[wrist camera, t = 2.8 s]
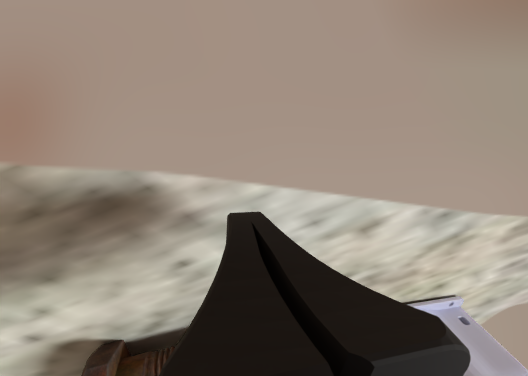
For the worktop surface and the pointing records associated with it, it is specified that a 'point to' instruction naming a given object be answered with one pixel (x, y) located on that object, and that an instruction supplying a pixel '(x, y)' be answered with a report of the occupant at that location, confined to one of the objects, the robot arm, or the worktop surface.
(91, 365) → the bolt
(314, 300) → the robot arm
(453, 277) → the worktop surface
